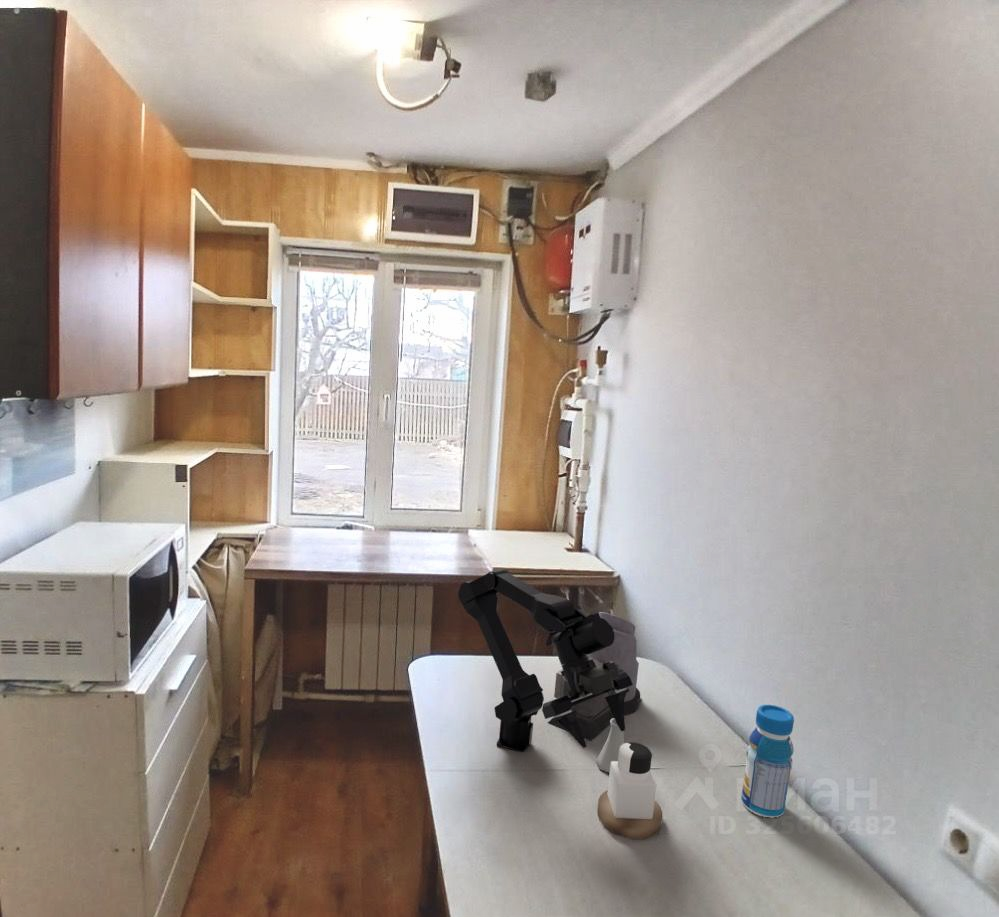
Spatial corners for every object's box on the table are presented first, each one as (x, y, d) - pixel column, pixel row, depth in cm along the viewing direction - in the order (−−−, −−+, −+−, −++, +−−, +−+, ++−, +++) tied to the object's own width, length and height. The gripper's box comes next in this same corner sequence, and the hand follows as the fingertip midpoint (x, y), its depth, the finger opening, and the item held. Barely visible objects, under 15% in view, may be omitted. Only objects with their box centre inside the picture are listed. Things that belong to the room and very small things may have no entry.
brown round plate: (592, 828, 124) (593, 818, 124) (601, 791, 136) (602, 781, 136) (659, 846, 121) (660, 836, 121) (662, 806, 133) (664, 796, 132)
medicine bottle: (642, 795, 132) (649, 738, 130) (652, 820, 125) (660, 760, 123) (606, 794, 132) (613, 736, 130) (614, 818, 125) (621, 758, 123)
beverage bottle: (764, 824, 129) (778, 727, 127) (730, 798, 137) (743, 705, 134) (794, 814, 133) (808, 719, 131) (760, 789, 141) (773, 698, 138)
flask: (629, 778, 141) (634, 733, 140) (594, 771, 142) (599, 727, 141) (630, 759, 148) (634, 716, 147) (596, 753, 149) (601, 710, 148)
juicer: (596, 678, 186) (605, 592, 183) (651, 698, 177) (661, 608, 174) (539, 720, 161) (548, 622, 158) (599, 745, 152) (610, 642, 149)
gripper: (551, 667, 126) (583, 753, 121) (631, 638, 134) (663, 718, 129) (529, 677, 135) (557, 758, 130) (604, 650, 144) (634, 724, 139)
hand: (604, 739), depth 132 cm, fingers open, 9 cm apart
